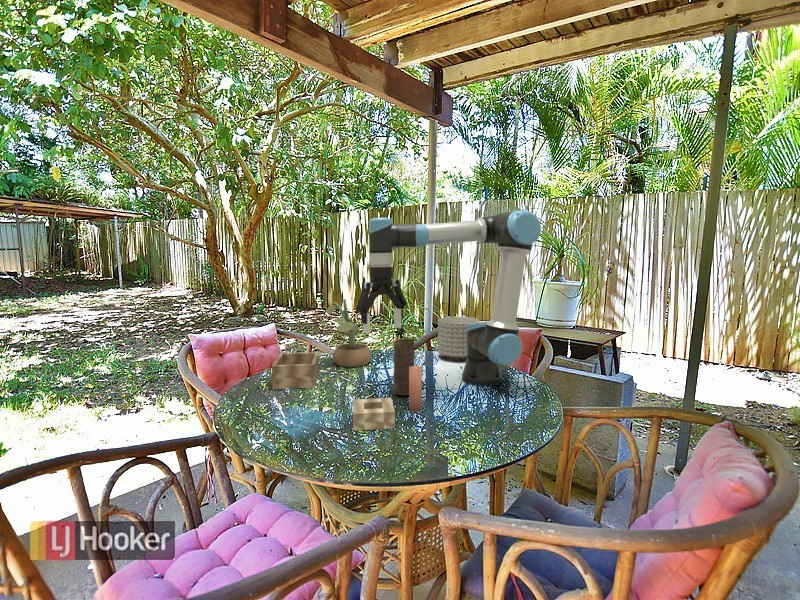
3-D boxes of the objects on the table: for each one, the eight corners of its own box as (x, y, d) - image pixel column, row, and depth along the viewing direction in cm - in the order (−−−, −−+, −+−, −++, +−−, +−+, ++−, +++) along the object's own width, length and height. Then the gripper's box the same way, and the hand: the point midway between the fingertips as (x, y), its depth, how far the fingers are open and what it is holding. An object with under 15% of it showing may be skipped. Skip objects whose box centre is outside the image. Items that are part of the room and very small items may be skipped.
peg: (420, 407, 146) (420, 365, 144) (422, 411, 142) (422, 368, 140) (408, 407, 146) (408, 366, 144) (410, 412, 142) (410, 369, 140)
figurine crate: (318, 373, 186) (318, 352, 184) (314, 388, 166) (314, 364, 165) (281, 374, 184) (280, 353, 183) (272, 389, 165) (271, 366, 164)
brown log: (412, 398, 154) (412, 342, 152) (391, 397, 156) (391, 341, 153) (416, 391, 162) (415, 337, 159) (396, 390, 163) (395, 336, 160)
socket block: (391, 413, 141) (391, 397, 141) (394, 428, 129) (394, 411, 129) (353, 414, 140) (353, 399, 139) (353, 430, 128) (352, 413, 127)
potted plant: (340, 357, 212) (338, 294, 208) (376, 359, 207) (375, 295, 204) (319, 370, 191) (317, 300, 187) (358, 373, 186) (357, 301, 182)
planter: (436, 362, 201) (436, 322, 199) (439, 352, 220) (439, 316, 218) (479, 364, 198) (479, 323, 196) (478, 353, 217) (479, 316, 215)
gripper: (401, 264, 156) (402, 323, 159) (343, 267, 139) (345, 334, 142) (416, 264, 151) (417, 326, 153) (357, 268, 134) (359, 337, 136)
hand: (382, 330), depth 147 cm, fingers open, 13 cm apart
